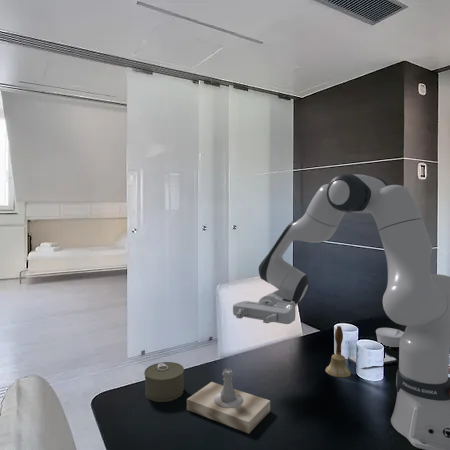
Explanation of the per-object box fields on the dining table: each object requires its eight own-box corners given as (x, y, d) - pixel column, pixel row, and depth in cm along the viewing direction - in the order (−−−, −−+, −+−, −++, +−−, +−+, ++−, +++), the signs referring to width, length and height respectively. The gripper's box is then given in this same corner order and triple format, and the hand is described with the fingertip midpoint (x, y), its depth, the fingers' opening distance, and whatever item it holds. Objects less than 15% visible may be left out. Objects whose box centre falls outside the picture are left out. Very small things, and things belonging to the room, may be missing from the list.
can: (148, 406, 105) (148, 382, 104) (141, 386, 116) (141, 365, 115) (189, 397, 109) (188, 375, 109) (178, 379, 120) (178, 359, 120)
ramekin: (411, 350, 143) (411, 337, 143) (382, 350, 143) (382, 337, 143) (398, 339, 154) (398, 327, 154) (371, 339, 155) (371, 327, 154)
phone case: (361, 371, 127) (399, 364, 131) (361, 366, 127) (399, 359, 131) (346, 360, 135) (382, 354, 140) (346, 356, 135) (382, 350, 140)
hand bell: (354, 371, 125) (355, 325, 125) (345, 380, 119) (345, 332, 118) (331, 364, 131) (332, 320, 130) (321, 372, 124) (321, 326, 124)
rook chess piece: (231, 404, 99) (230, 375, 98) (217, 400, 101) (216, 371, 101) (239, 397, 103) (239, 369, 102) (225, 392, 105) (225, 365, 105)
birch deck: (270, 411, 101) (270, 399, 101) (248, 433, 91) (248, 421, 91) (211, 391, 112) (211, 380, 112) (186, 409, 102) (186, 398, 102)
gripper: (244, 294, 129) (222, 303, 117) (299, 302, 117) (281, 312, 106) (244, 312, 129) (223, 323, 117) (299, 321, 118) (281, 334, 106)
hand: (251, 318), depth 111 cm, fingers open, 8 cm apart
